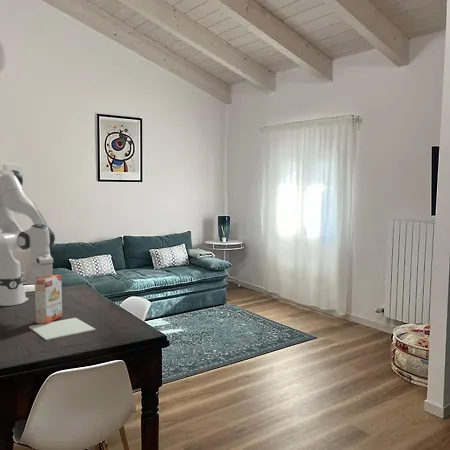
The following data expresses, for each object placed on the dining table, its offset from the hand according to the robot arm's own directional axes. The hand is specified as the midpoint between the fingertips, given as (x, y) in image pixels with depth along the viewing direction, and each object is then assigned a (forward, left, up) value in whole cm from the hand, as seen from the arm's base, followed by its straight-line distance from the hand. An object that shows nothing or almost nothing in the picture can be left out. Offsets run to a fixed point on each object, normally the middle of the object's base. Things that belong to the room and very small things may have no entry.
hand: (41, 285), depth 230 cm
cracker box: (+11, 0, -15) cm, 19 cm away
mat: (+25, 0, -15) cm, 30 cm away
